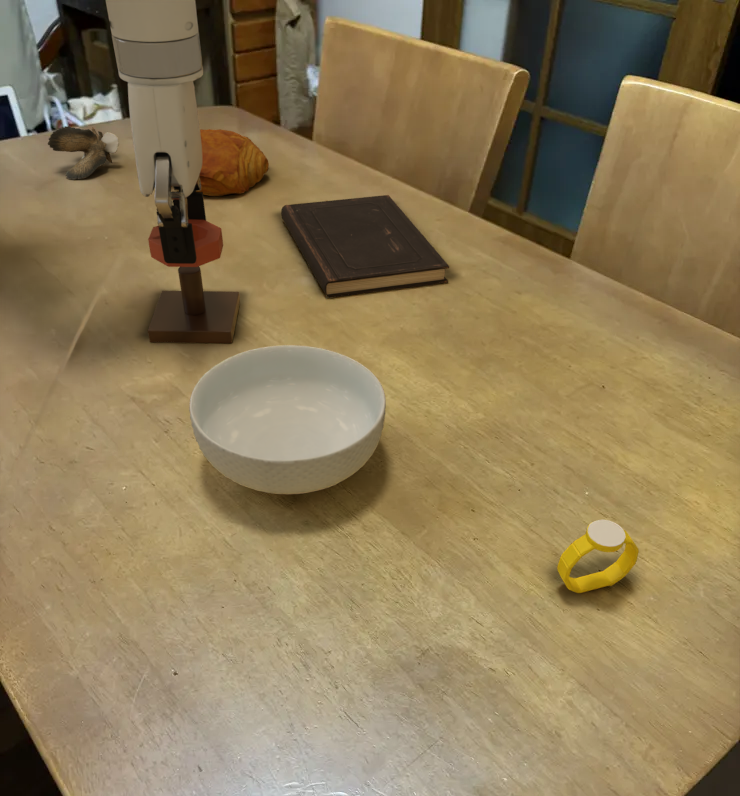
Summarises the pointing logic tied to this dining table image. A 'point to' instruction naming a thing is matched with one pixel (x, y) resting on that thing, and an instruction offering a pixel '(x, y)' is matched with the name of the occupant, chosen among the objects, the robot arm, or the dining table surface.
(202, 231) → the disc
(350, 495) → the dining table surface
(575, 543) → the watch
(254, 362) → the cereal bowl
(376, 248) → the hardcover book
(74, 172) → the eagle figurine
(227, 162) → the croissant
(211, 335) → the stand
